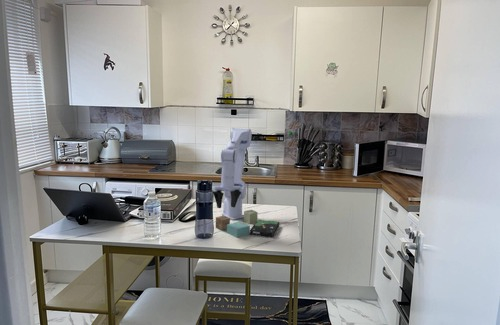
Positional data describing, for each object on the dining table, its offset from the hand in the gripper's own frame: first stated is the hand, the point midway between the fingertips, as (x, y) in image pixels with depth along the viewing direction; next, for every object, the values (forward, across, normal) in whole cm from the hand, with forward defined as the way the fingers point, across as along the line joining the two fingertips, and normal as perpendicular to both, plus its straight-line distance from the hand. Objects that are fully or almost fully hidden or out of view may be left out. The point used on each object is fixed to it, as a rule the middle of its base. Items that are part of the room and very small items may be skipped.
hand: (226, 207), depth 168 cm
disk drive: (+10, +15, -10) cm, 21 cm away
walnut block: (+10, +1, +3) cm, 10 cm away
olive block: (+8, +17, +2) cm, 19 cm away
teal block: (+11, +3, -6) cm, 13 cm away
